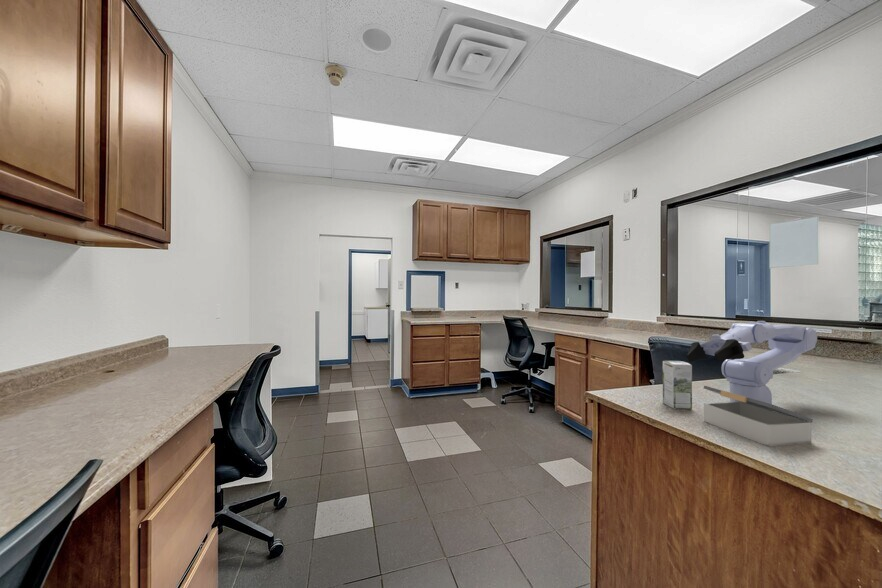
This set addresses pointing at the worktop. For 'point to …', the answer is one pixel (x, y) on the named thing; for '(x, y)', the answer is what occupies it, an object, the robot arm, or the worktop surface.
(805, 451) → the worktop surface
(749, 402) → the lid
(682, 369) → the syrup box
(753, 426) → the storage box
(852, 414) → the worktop surface
